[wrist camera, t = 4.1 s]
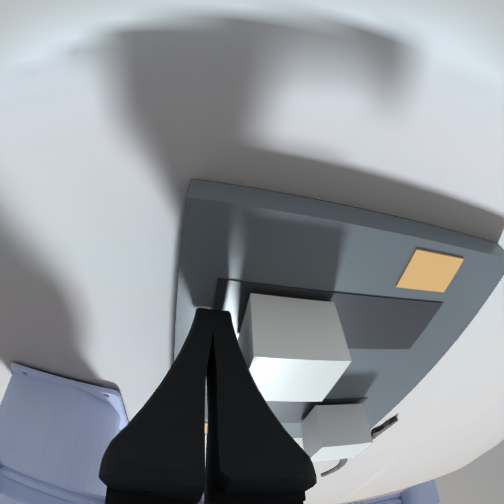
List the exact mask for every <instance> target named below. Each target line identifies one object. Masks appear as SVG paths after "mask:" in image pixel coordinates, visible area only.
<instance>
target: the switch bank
mask: <svg viewBox="0 0 504 504" xmlns="http://www.w3.org/2000/svg"><path fill="white" fill-rule="evenodd" d="M503 275H504V250H503V248H502V247H501V246H500V245H499V244H498V243H494V242H491V241H487V240H484V239H481V238H477V237H473V236H470V235H466V234H463V233H459V232H455V231H451V230H448V229H444V228H440V227H436V226H432V225H428V224H424V223H420V222H416V221H412V220H408V219H404V218H400V217H396V216H391V215H387V214H383V213H378V212H374V211H369V210H365V209H360V208H356V207H351V206H346V205H341V204H336V203H332V202H327V201H322V200H317V199H311V198H306V197H301V196H296V195H290V194H285V193H279V192H273V191H268V190H262V189H256V188H250V187H244V186H238V185H231V184H225V183H218V182H212V181H205V180H198V179H191V183H190V186H189V189H188V192H187V195H186V202H185V211H184V221H183V230H182V241H181V252H180V264H179V277H178V291H177V307H176V325H175V348H174V361H175V359H176V357H177V356H178V354H179V352H180V350H181V348H182V346H183V344H184V342H185V340H186V338H187V335H188V333H189V331H190V328H191V326H192V323H193V320H194V316H195V312H196V309H197V308H199V307H200V308H208V309H216V310H224V311H229V312H230V313H231V317H232V322H233V327H234V330H235V334H236V337H237V340H238V337H239V333H240V330H241V326H242V322H243V319H244V315H245V311H246V308H247V304H248V300H249V297H250V293H254V294H263V295H271V296H280V297H289V298H298V299H308V300H318V301H328V302H334V303H335V306H336V310H337V313H338V316H339V319H340V323H341V326H342V329H343V333H344V336H345V339H346V343H347V346H348V350H349V353H350V357H351V360H352V361H351V363H350V364H349V366H348V367H347V368H346V370H345V371H344V373H343V374H342V375H341V377H340V378H339V379H338V381H337V382H336V384H335V385H334V386H333V388H332V389H331V390H330V392H329V393H328V394H327V395H326V397H325V398H324V399H323V401H322V402H290V401H266V403H267V404H268V406H269V407H270V409H271V410H272V412H273V413H274V415H275V416H276V417H277V419H278V420H279V421H280V423H281V424H282V426H283V427H284V428H285V430H286V431H287V432H288V433H289V434H290V436H291V437H292V438H302V431H301V423H302V422H303V421H304V419H305V418H306V417H307V416H308V414H309V413H310V412H311V410H312V409H313V408H314V407H315V405H343V404H364V408H365V412H366V416H367V419H368V424H369V428H370V429H371V428H372V427H373V426H375V425H376V424H377V423H378V422H379V421H380V420H381V419H382V418H383V417H385V416H386V415H387V414H388V413H389V412H390V411H391V410H392V409H393V408H394V407H395V406H396V405H397V404H398V403H399V402H400V401H401V400H402V399H403V398H404V397H405V396H406V395H407V394H408V393H409V392H410V391H411V390H412V389H413V388H414V387H415V386H416V385H417V384H418V383H419V382H420V381H421V380H422V379H423V378H424V377H425V376H426V375H427V374H428V372H429V371H430V370H431V369H432V368H433V367H434V366H435V365H436V364H437V362H438V361H439V360H440V359H441V358H442V357H443V356H444V354H445V353H446V352H447V351H448V350H449V349H450V347H451V346H452V345H453V344H454V343H455V341H456V340H457V339H458V338H459V336H460V335H461V334H462V333H463V331H464V330H465V329H466V327H467V326H468V325H469V324H470V322H471V321H472V320H473V318H474V317H475V316H476V314H477V313H478V312H479V310H480V309H481V307H482V306H483V305H484V303H485V302H486V300H487V299H488V298H489V296H490V295H491V293H492V292H493V290H494V289H495V287H496V286H497V284H498V283H499V281H500V280H501V278H502V277H503ZM207 426H208V409H207V385H206V392H205V435H207Z"/></svg>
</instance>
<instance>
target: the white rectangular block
mask: <svg viewBox="0 0 504 504" xmlns="http://www.w3.org/2000/svg"><path fill="white" fill-rule="evenodd" d="M238 343H239V346H240V349H241V352H242V354H243V357H244V359H245V362H246V364H247V367H248V369H249V371H250V373H251V375H252V377H253V379H254V381H255V383H256V385H257V387H258V389H259V391H260V392H261V394H262V396H263V398H264V399H265V401H290V402H322V401H323V399H324V398H325V397H326V395H327V394H328V393H329V392H330V390H331V389H332V388H333V386H334V385H335V384H336V382H337V381H338V379H339V378H340V377H341V375H342V374H343V373H344V371H345V370H346V368H347V367H348V366H349V364H350V363H351V361H352V360H351V357H350V353H349V350H348V346H347V343H346V339H345V336H344V333H343V329H342V326H341V323H340V319H339V316H338V313H337V310H336V306H335V303H334V302H328V301H318V300H308V299H298V298H289V297H280V296H271V295H263V294H254V293H250V297H249V300H248V304H247V308H246V311H245V315H244V319H243V322H242V326H241V330H240V333H239V337H238Z"/></svg>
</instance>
